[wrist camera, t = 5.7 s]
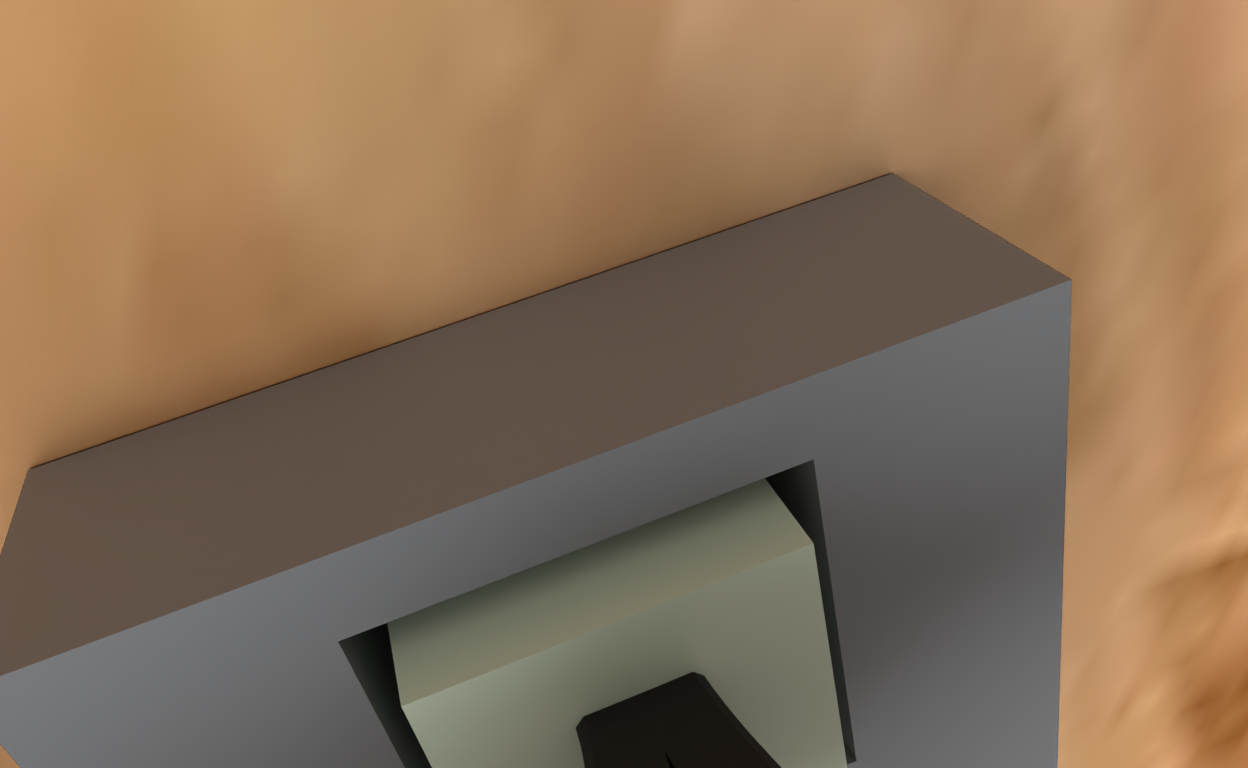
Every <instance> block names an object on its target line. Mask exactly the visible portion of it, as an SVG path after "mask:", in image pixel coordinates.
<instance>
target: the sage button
mask: <svg viewBox="0 0 1248 768" xmlns="http://www.w3.org/2000/svg"><path fill="white" fill-rule="evenodd" d="M387 624H388V631H389V637H390V643H391V649H392V655H393V661H394V667H395V673H396V679H397V685H398V691H399V697H400V703H401V707H402V709H403V711H404V713H405V715H406V717H407V719H408V721H409V723H410V725H411V727H412V729H413V731H414V733H415V735H416V737H417V739H418V741H419V743H420V745H421V747H422V749H423V751H424V753H425V755H426V757H427V759H428V761H429V763H430V765H431V767H432V768H585V766H584V761H583V755H582V750H581V746H580V742H579V738H578V735H577V731H576V727H577V725H578V724H579V722H580V721H581V719H582V718H583V716H586V715H589V714H591V713H593V712H596V711H598V710H601V709H603V708H606V707H608V706H611V705H613V704H615V703H618V702H620V701H623V700H625V699H628V698H630V697H633V696H635V695H638V694H640V693H642V692H645V691H647V690H650V689H652V688H655V687H657V686H660V685H662V684H664V683H667V682H669V681H672V680H674V679H676V678H679V677H681V676H684V675H686V674H689V673H691V672H695V673H698V674H701V675H704V676H705V677H706V679H707V680H708V682H709V683H710V684H711V686H712V687H713V689H714V690H715V691H716V692H717V694H718V695H719V696H720V698H721V699H722V700H723V701H724V703H725V704H726V705H727V707H728V708H729V709H730V710H731V711H732V713H733V714H734V715H735V716H736V718H737V719H738V720H739V721H740V722H741V723H742V725H743V726H744V727H745V728H746V729H747V730H748V732H749V733H750V734H751V735H752V736H753V737H754V738H755V739H756V741H757V742H758V743H759V744H760V745H761V746H762V747H763V748H764V749H765V750H766V751H767V753H768V754H769V755H770V756H771V757H772V758H773V759H774V760H775V761H776V762H777V763H778V764H779V766H780V767H781V768H847V762H846V755H845V749H844V742H843V735H842V729H841V722H840V715H839V709H838V702H837V695H836V689H835V682H834V676H833V669H832V662H831V656H830V649H829V642H828V636H827V629H826V622H825V616H824V609H823V603H822V596H821V589H820V583H819V576H818V569H817V563H816V556H815V549H814V543H813V542H812V541H811V539H810V538H809V537H808V535H807V534H806V533H805V531H804V530H803V529H802V527H801V526H800V525H799V523H798V522H797V521H796V519H795V518H794V517H793V515H792V514H791V513H790V511H789V510H788V509H787V507H786V506H785V504H784V503H783V502H782V500H781V499H780V498H779V496H778V495H777V494H776V492H775V491H774V490H773V488H772V487H771V486H770V484H769V483H768V482H767V480H766V479H765V478H764V479H761V480H758V481H756V482H753V483H750V484H748V485H745V486H743V487H740V488H737V489H735V490H732V491H730V492H727V493H724V494H722V495H719V496H717V497H714V498H711V499H709V500H706V501H703V502H701V503H698V504H696V505H693V506H690V507H688V508H685V509H683V510H680V511H677V512H675V513H672V514H670V515H667V516H664V517H662V518H659V519H656V520H654V521H651V522H649V523H646V524H643V525H641V526H638V527H636V528H633V529H630V530H628V531H625V532H623V533H620V534H617V535H615V536H612V537H610V538H607V539H604V540H602V541H599V542H596V543H594V544H591V545H589V546H586V547H583V548H581V549H578V550H576V551H573V552H570V553H568V554H565V555H563V556H560V557H557V558H555V559H552V560H549V561H547V562H544V563H542V564H539V565H536V566H534V567H531V568H529V569H526V570H523V571H521V572H518V573H516V574H513V575H510V576H508V577H505V578H502V579H500V580H497V581H495V582H492V583H489V584H487V585H484V586H482V587H479V588H476V589H474V590H471V591H469V592H466V593H463V594H461V595H458V596H456V597H453V598H450V599H448V600H445V601H442V602H440V603H437V604H435V605H432V606H429V607H427V608H424V609H422V610H419V611H416V612H414V613H411V614H409V615H406V616H403V617H401V618H398V619H395V620H393V621H390V622H388V623H387Z"/></svg>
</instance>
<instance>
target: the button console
mask: <svg viewBox="0 0 1248 768" xmlns="http://www.w3.org/2000/svg"><path fill="white" fill-rule="evenodd" d="M1071 284H1072V280H1071V279H1070V278H1068V277H1066V276H1065V275H1063V274H1061V273H1060V272H1058V271H1056V270H1055V269H1053V268H1051V267H1050V266H1048V265H1046V264H1045V263H1043V262H1041V261H1040V260H1038V259H1036V258H1035V257H1033V256H1031V255H1029V254H1028V253H1026V252H1024V251H1023V250H1021V249H1019V248H1018V247H1016V246H1014V245H1013V244H1011V243H1009V242H1008V241H1006V240H1004V239H1003V238H1001V237H999V236H998V235H996V234H994V233H993V232H991V231H989V230H988V229H986V228H984V227H983V226H981V225H979V224H977V223H976V222H974V221H972V220H971V219H969V218H967V217H966V216H964V215H962V214H961V213H959V212H957V211H956V210H954V209H952V208H951V207H949V206H947V205H946V204H944V203H942V202H941V201H939V200H937V199H936V198H934V197H932V196H931V195H929V194H927V193H926V192H924V191H922V190H920V189H919V188H917V187H915V186H914V185H912V184H910V183H909V182H907V181H905V180H904V179H902V178H900V177H899V176H897V175H895V174H894V173H892V174H889V175H886V176H884V177H881V178H878V179H875V180H872V181H869V182H866V183H863V184H860V185H857V186H854V187H851V188H849V189H846V190H843V191H840V192H837V193H834V194H831V195H828V196H825V197H822V198H819V199H817V200H814V201H811V202H808V203H805V204H802V205H799V206H796V207H793V208H790V209H787V210H784V211H782V212H779V213H776V214H773V215H770V216H767V217H764V218H761V219H758V220H755V221H752V222H750V223H747V224H744V225H741V226H738V227H735V228H732V229H729V230H726V231H723V232H720V233H717V234H715V235H712V236H709V237H706V238H703V239H700V240H697V241H694V242H691V243H688V244H685V245H682V246H680V247H677V248H674V249H671V250H668V251H665V252H662V253H659V254H656V255H653V256H650V257H648V258H645V259H642V260H639V261H636V262H633V263H630V264H627V265H624V266H621V267H618V268H615V269H613V270H610V271H607V272H604V273H601V274H598V275H595V276H592V277H589V278H586V279H583V280H581V281H578V282H575V283H572V284H569V285H566V286H563V287H560V288H557V289H554V290H551V291H548V292H546V293H543V294H540V295H537V296H534V297H531V298H528V299H525V300H522V301H519V302H516V303H514V304H511V305H508V306H505V307H502V308H499V309H496V310H493V311H490V312H487V313H484V314H481V315H479V316H476V317H473V318H470V319H467V320H464V321H461V322H458V323H455V324H452V325H449V326H447V327H444V328H441V329H438V330H435V331H432V332H429V333H426V334H423V335H420V336H417V337H414V338H412V339H409V340H406V341H403V342H400V343H397V344H394V345H391V346H388V347H385V348H382V349H380V350H377V351H374V352H371V353H368V354H365V355H362V356H359V357H356V358H353V359H350V360H347V361H345V362H342V363H339V364H336V365H333V366H330V367H327V368H324V369H321V370H318V371H315V372H312V373H310V374H307V375H304V376H301V377H298V378H295V379H292V380H289V381H286V382H283V383H280V384H278V385H275V386H272V387H269V388H266V389H263V390H260V391H257V392H254V393H251V394H248V395H245V396H243V397H240V398H237V399H234V400H231V401H228V402H225V403H222V404H219V405H216V406H213V407H211V408H208V409H205V410H202V411H199V412H196V413H193V414H190V415H187V416H184V417H181V418H178V419H176V420H173V421H170V422H167V423H164V424H161V425H158V426H155V427H152V428H149V429H146V430H144V431H141V432H138V433H135V434H132V435H129V436H126V437H123V438H120V439H117V440H114V441H111V442H109V443H106V444H103V445H100V446H97V447H94V448H91V449H88V450H85V451H82V452H79V453H77V454H74V455H71V456H68V457H65V458H62V459H59V460H56V461H53V462H50V463H47V464H44V465H42V466H39V467H36V468H33V469H30V470H28V472H27V475H26V478H25V481H24V484H23V487H22V490H21V493H20V496H19V499H18V502H17V506H16V509H15V512H14V515H13V518H12V521H11V524H10V527H9V530H8V533H7V536H6V540H5V543H4V546H3V549H2V552H1V555H0V745H1V746H2V747H3V748H4V749H5V750H6V752H7V753H8V754H9V755H10V756H11V757H12V759H13V760H14V761H15V762H16V763H17V764H18V765H19V767H20V768H432V767H431V765H430V763H429V761H428V759H427V757H426V755H425V753H424V751H423V749H422V747H421V745H420V743H419V741H418V739H417V737H416V735H415V733H414V731H413V729H412V727H411V725H410V723H409V721H408V719H407V717H406V715H405V713H404V711H403V709H402V707H401V703H400V697H399V691H398V685H397V679H396V673H395V667H394V661H393V655H392V649H391V643H390V637H389V631H388V624H387V623H388V622H390V621H393V620H395V619H398V618H401V617H403V616H406V615H409V614H411V613H414V612H416V611H419V610H422V609H424V608H427V607H429V606H432V605H435V604H437V603H440V602H442V601H445V600H448V599H450V598H453V597H456V596H458V595H461V594H463V593H466V592H469V591H471V590H474V589H476V588H479V587H482V586H484V585H487V584H489V583H492V582H495V581H497V580H500V579H502V578H505V577H508V576H510V575H513V574H516V573H518V572H521V571H523V570H526V569H529V568H531V567H534V566H536V565H539V564H542V563H544V562H547V561H549V560H552V559H555V558H557V557H560V556H563V555H565V554H568V553H570V552H573V551H576V550H578V549H581V548H583V547H586V546H589V545H591V544H594V543H596V542H599V541H602V540H604V539H607V538H610V537H612V536H615V535H617V534H620V533H623V532H625V531H628V530H630V529H633V528H636V527H638V526H641V525H643V524H646V523H649V522H651V521H654V520H656V519H659V518H662V517H664V516H667V515H670V514H672V513H675V512H677V511H680V510H683V509H685V508H688V507H690V506H693V505H696V504H698V503H701V502H703V501H706V500H709V499H711V498H714V497H717V496H719V495H722V494H724V493H727V492H730V491H732V490H735V489H737V488H740V487H743V486H745V485H748V484H750V483H753V482H756V481H758V480H761V479H764V478H765V479H766V480H767V482H768V483H769V484H770V486H771V487H772V488H773V490H774V491H775V492H776V494H777V495H778V496H779V498H780V499H781V500H782V502H783V503H784V504H785V506H786V507H787V509H788V510H789V511H790V513H791V514H792V515H793V517H794V518H795V519H796V521H797V522H798V523H799V525H800V526H801V527H802V529H803V530H804V531H805V533H806V534H807V535H808V537H809V538H810V539H811V541H812V542H813V543H814V549H815V556H816V563H817V569H818V576H819V583H820V589H821V596H822V603H823V609H824V616H825V622H826V629H827V636H828V642H829V649H830V656H831V662H832V669H833V676H834V682H835V689H836V695H837V702H838V709H839V715H840V722H841V729H842V735H843V742H844V749H845V755H846V762H847V768H1057V761H1058V727H1059V693H1060V659H1061V625H1062V591H1063V557H1064V523H1065V489H1066V455H1067V421H1068V386H1069V352H1070V318H1071Z"/></svg>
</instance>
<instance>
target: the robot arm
mask: <svg viewBox="0 0 1248 768" xmlns="http://www.w3.org/2000/svg"><path fill="white" fill-rule="evenodd" d="M576 731H577V735H578V738H579V742H580V746H581V750H582V755H583V761H584V766H585V768H781V767H780V766H779V764H778V763H777V762H776V761H775V760H774V759H773V758H772V757H771V756H770V755H769V754H768V753H767V751H766V750H765V749H764V748H763V747H762V746H761V745H760V744H759V743H758V742H757V741H756V739H755V738H754V737H753V736H752V735H751V734H750V733H749V732H748V730H747V729H746V728H745V727H744V726H743V725H742V723H741V722H740V721H739V720H738V719H737V718H736V716H735V715H734V714H733V713H732V711H731V710H730V709H729V708H728V707H727V705H726V704H725V703H724V701H723V700H722V699H721V698H720V696H719V695H718V694H717V692H716V691H715V690H714V689H713V687H712V686H711V684H710V683H709V682H708V680H707V679H706V677H705V676H704V675H701V674H698V673H695V672H691V673H689V674H686V675H684V676H681V677H679V678H676V679H674V680H672V681H669V682H667V683H664V684H662V685H660V686H657V687H655V688H652V689H650V690H647V691H645V692H642V693H640V694H638V695H635V696H633V697H630V698H628V699H625V700H623V701H620V702H618V703H615V704H613V705H611V706H608V707H606V708H603V709H601V710H598V711H596V712H593V713H591V714H589V715H586V716H583V718H582V719H581V721H580V722H579V724H578V725H577V727H576Z"/></svg>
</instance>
